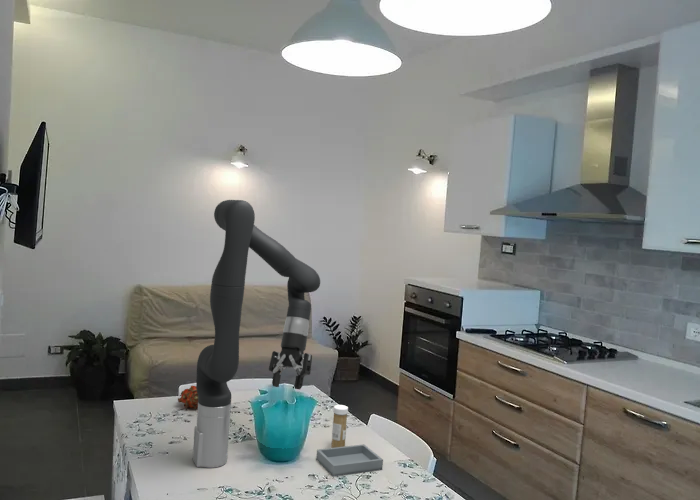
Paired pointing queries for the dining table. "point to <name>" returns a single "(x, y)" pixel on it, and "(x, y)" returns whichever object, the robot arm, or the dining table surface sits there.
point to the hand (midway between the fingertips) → (286, 387)
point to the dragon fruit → (189, 398)
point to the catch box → (349, 460)
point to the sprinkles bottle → (339, 426)
